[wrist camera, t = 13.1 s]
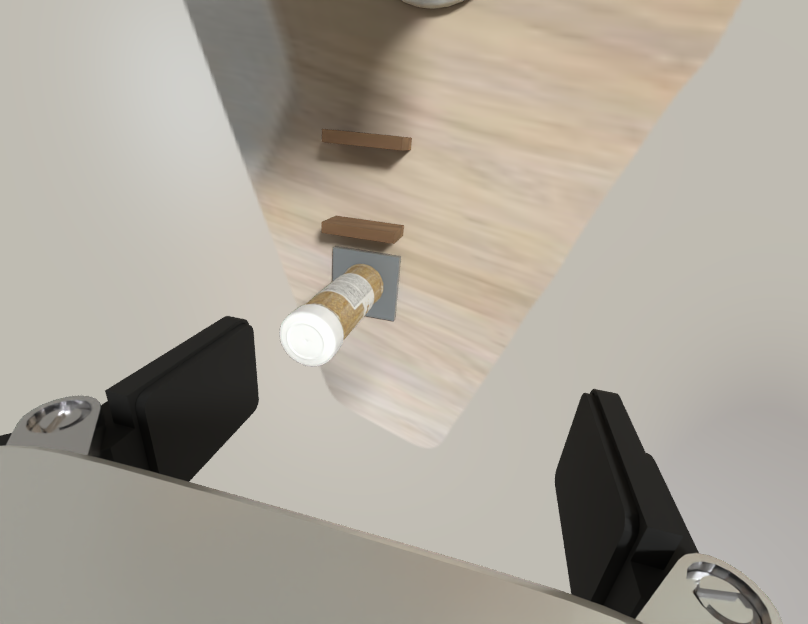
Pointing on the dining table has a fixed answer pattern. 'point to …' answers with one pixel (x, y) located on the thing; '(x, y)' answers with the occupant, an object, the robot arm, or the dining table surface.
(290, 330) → the sprinkles bottle
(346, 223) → the walnut rack
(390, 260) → the slate coaster
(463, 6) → the dining table surface
